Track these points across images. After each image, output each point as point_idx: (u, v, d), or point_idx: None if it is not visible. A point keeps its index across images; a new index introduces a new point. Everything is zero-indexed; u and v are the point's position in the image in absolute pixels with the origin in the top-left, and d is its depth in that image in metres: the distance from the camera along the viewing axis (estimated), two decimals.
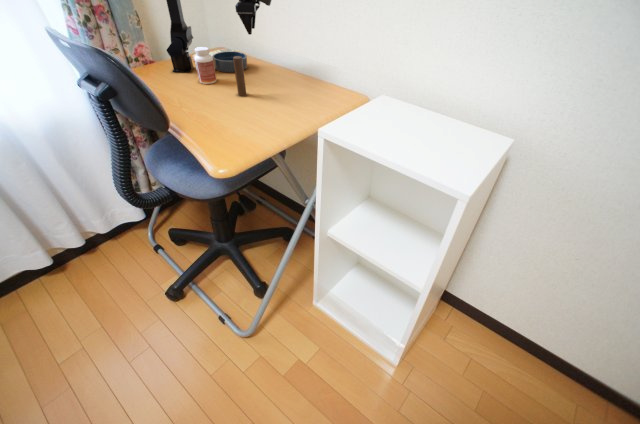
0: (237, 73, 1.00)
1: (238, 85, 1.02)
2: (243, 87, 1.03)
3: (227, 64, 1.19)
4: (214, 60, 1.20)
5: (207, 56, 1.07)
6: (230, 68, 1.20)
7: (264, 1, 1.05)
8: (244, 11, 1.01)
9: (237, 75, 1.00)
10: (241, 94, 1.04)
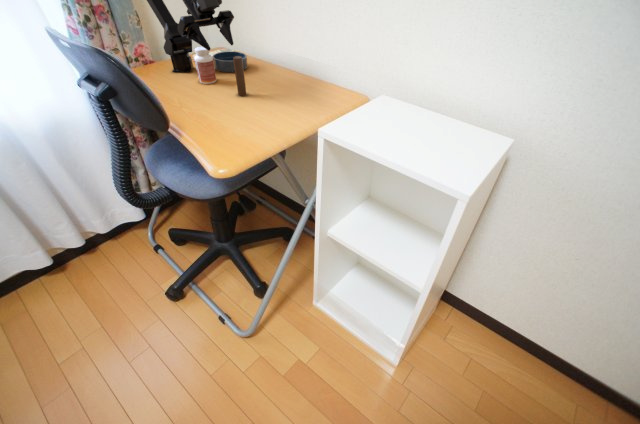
0: (237, 73, 1.00)
1: (238, 85, 1.02)
2: (243, 87, 1.03)
3: (227, 64, 1.19)
4: (214, 60, 1.20)
5: (207, 56, 1.07)
6: (230, 68, 1.20)
7: (203, 6, 0.93)
8: (182, 29, 0.94)
9: (237, 75, 1.00)
10: (241, 94, 1.04)
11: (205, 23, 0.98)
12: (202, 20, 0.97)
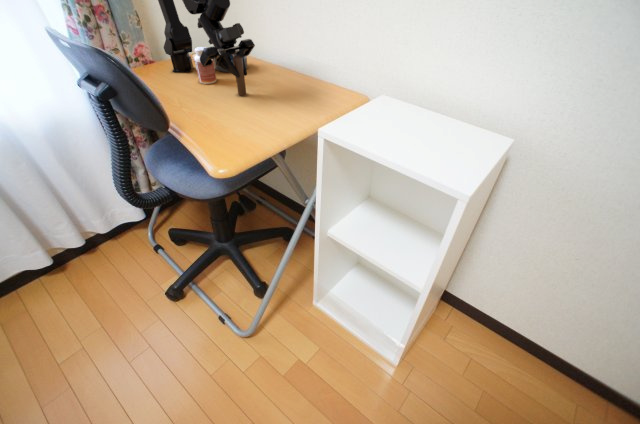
0: None
1: (238, 85, 1.02)
2: (243, 87, 1.03)
3: None
4: (214, 60, 1.20)
5: None
6: None
7: (226, 38, 0.93)
8: (204, 60, 0.94)
9: None
10: (241, 94, 1.04)
11: None
12: (224, 50, 0.97)
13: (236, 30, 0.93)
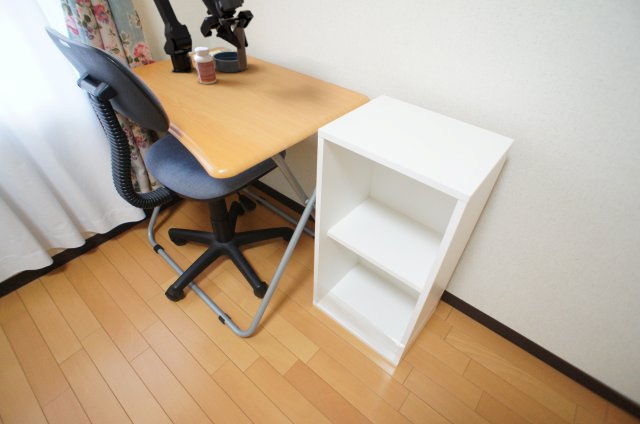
0: None
1: (239, 57, 1.00)
2: (244, 59, 1.01)
3: (227, 64, 1.19)
4: (214, 60, 1.20)
5: (207, 56, 1.07)
6: (230, 68, 1.20)
7: (227, 6, 0.91)
8: (206, 30, 0.91)
9: None
10: (242, 67, 1.02)
11: None
12: None
13: None
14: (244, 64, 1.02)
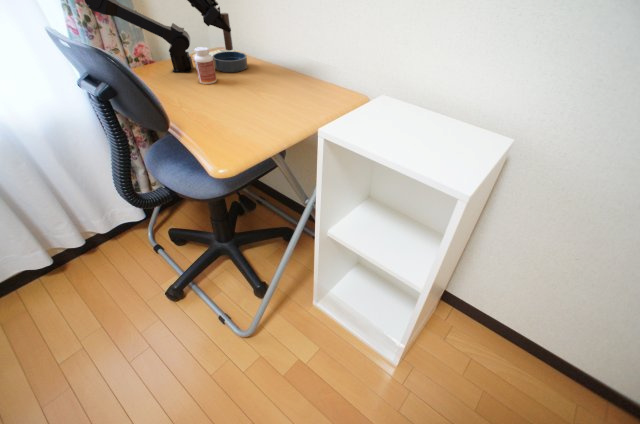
0: None
1: (228, 40, 1.18)
2: (231, 41, 1.19)
3: (227, 64, 1.19)
4: (214, 60, 1.20)
5: (207, 56, 1.07)
6: (230, 68, 1.20)
7: None
8: (212, 19, 1.05)
9: None
10: (231, 48, 1.20)
11: None
12: None
13: None
14: None
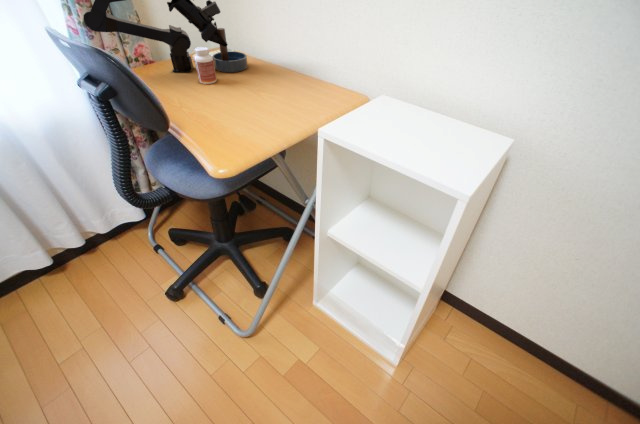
0: None
1: (225, 53, 1.21)
2: None
3: (227, 64, 1.19)
4: (214, 60, 1.20)
5: (207, 56, 1.07)
6: (230, 68, 1.20)
7: (214, 13, 1.11)
8: (210, 35, 1.09)
9: None
10: None
11: None
12: None
13: None
14: (228, 58, 1.24)
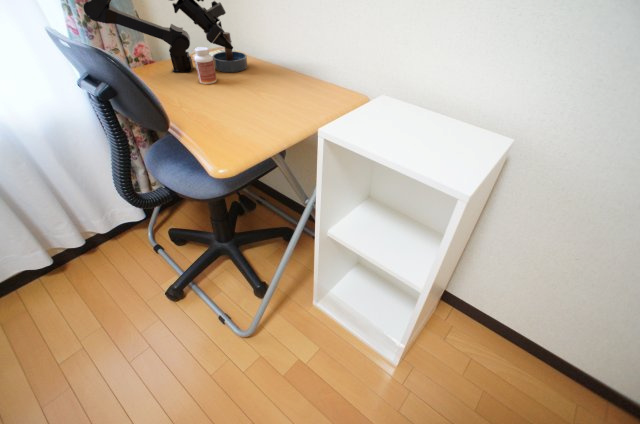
0: None
1: (230, 57, 1.22)
2: None
3: (227, 64, 1.19)
4: (214, 60, 1.20)
5: (207, 56, 1.07)
6: (230, 68, 1.20)
7: (220, 14, 1.11)
8: (215, 36, 1.09)
9: None
10: None
11: None
12: None
13: (222, 6, 1.12)
14: None
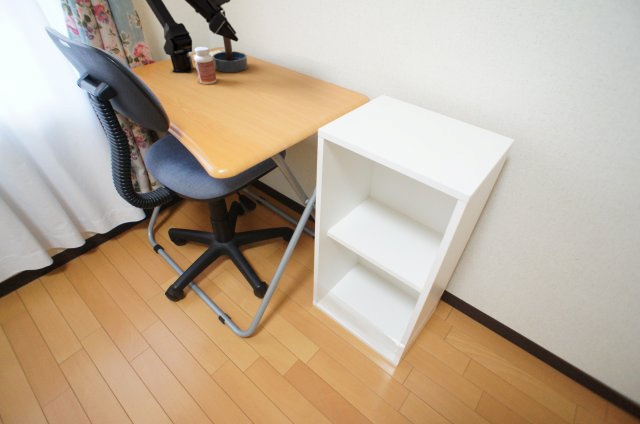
0: (229, 47, 1.20)
1: (230, 57, 1.22)
2: None
3: (227, 64, 1.19)
4: (214, 60, 1.20)
5: (207, 56, 1.07)
6: (230, 68, 1.20)
7: (224, 1, 1.00)
8: (218, 26, 0.98)
9: (229, 48, 1.20)
10: None
11: None
12: None
13: None
14: None
